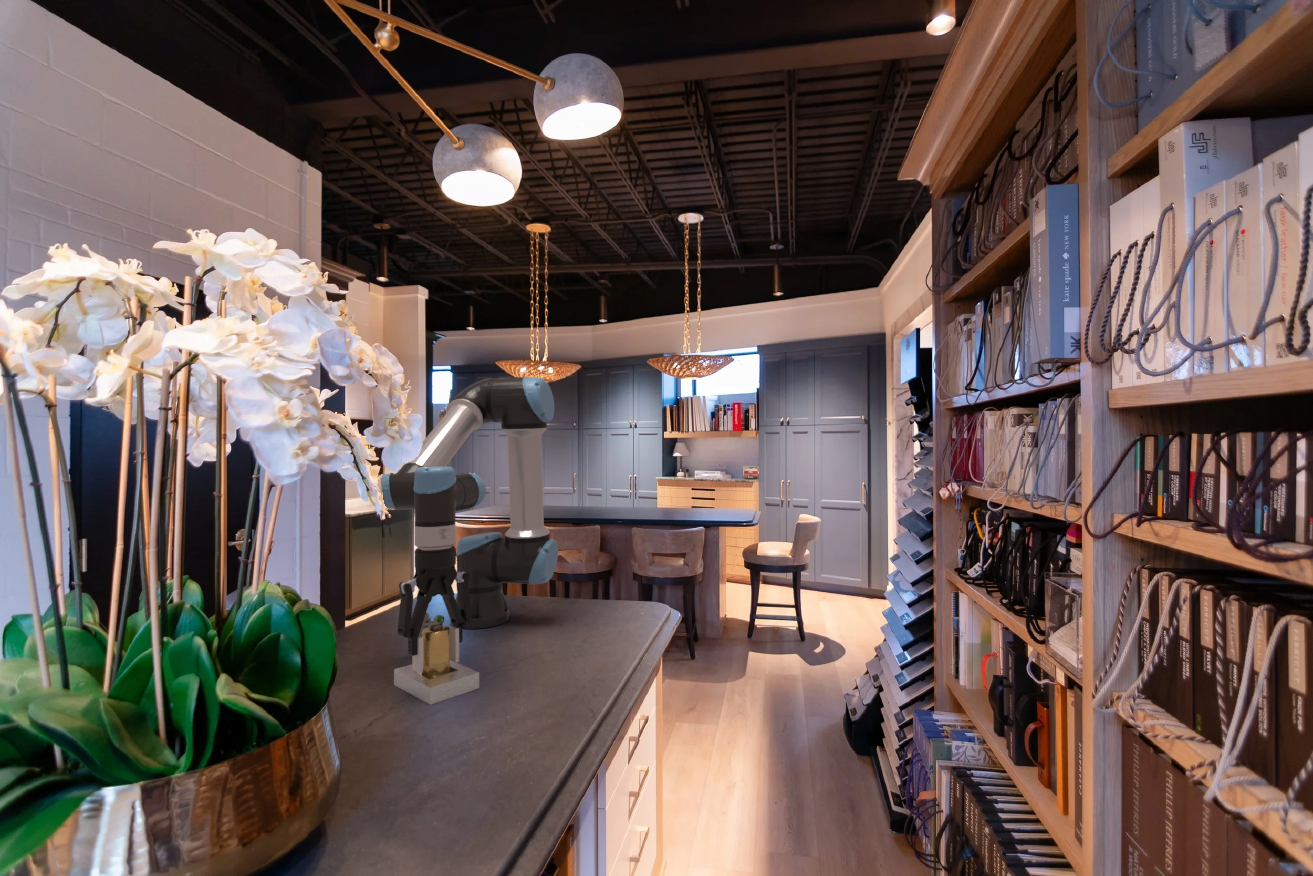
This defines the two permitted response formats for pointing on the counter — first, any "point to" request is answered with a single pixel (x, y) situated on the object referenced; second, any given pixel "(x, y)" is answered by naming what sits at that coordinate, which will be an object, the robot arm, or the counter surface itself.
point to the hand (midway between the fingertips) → (436, 665)
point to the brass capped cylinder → (436, 650)
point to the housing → (437, 683)
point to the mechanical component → (428, 621)
